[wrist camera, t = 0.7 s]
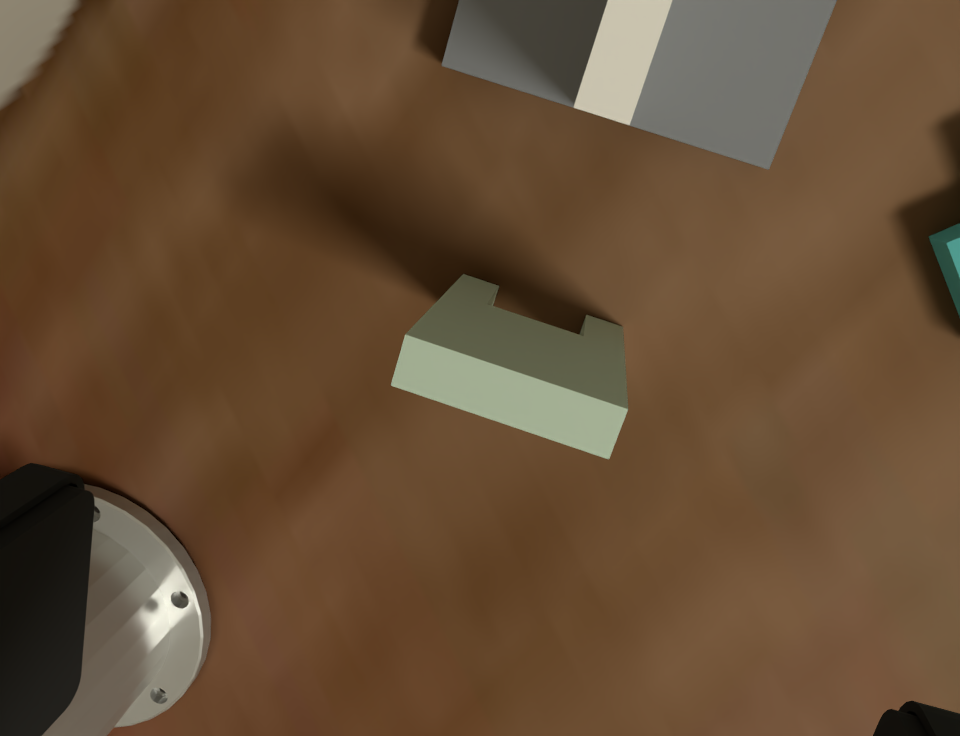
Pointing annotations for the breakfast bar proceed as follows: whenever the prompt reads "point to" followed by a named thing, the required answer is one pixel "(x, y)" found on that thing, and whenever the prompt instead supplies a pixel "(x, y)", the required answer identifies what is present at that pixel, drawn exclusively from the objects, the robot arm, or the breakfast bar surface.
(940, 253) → the alien figure
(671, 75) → the stand
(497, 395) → the green slotted plate
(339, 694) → the breakfast bar surface
